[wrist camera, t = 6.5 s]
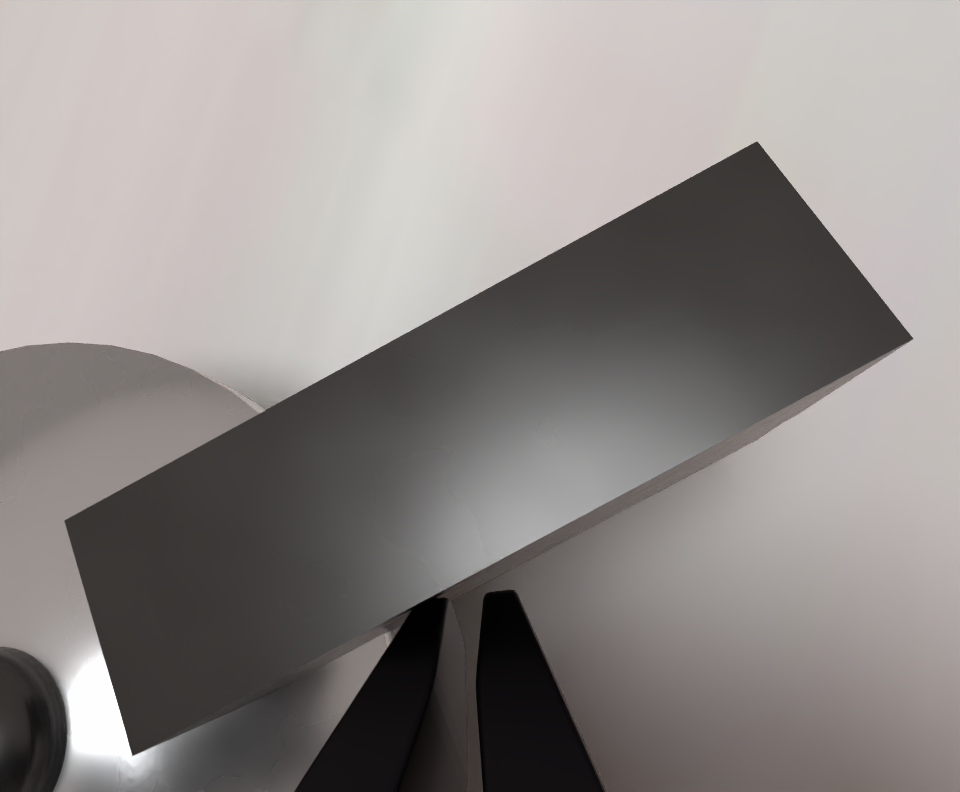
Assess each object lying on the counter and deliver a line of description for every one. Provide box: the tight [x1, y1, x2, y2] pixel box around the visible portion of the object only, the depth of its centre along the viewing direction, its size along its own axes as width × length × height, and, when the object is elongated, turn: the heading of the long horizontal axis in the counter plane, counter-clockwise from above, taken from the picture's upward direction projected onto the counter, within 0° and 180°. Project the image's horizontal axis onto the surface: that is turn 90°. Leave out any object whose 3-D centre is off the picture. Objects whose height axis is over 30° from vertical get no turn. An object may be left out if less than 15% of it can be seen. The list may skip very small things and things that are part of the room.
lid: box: [0, 142, 913, 792], centre depth 10 cm, size 22×15×4 cm, turn 117°
